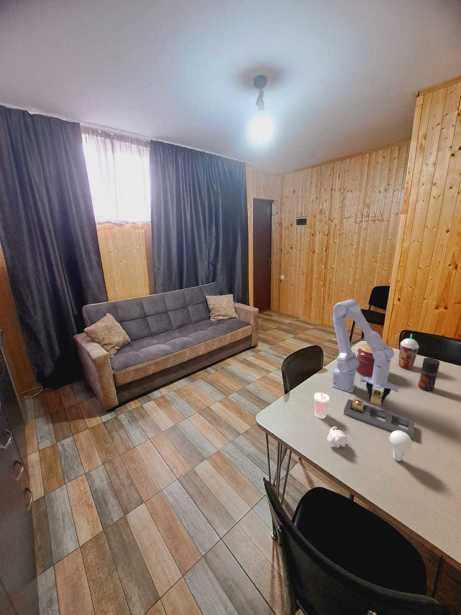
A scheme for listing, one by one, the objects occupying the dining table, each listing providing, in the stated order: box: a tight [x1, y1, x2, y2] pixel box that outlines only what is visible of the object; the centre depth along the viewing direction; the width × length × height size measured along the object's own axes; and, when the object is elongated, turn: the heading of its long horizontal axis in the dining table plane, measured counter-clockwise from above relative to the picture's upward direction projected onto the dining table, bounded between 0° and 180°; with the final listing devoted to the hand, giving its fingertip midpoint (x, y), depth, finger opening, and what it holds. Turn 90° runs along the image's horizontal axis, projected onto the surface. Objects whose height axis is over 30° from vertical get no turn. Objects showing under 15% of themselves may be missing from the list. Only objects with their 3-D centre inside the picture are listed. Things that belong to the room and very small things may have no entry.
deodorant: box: [417, 357, 440, 393], centre depth 118 cm, size 6×6×15 cm
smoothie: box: [398, 333, 420, 370], centre depth 136 cm, size 8×8×20 cm
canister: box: [356, 342, 375, 378], centre depth 133 cm, size 13×13×18 cm
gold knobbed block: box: [351, 398, 366, 414], centre depth 105 cm, size 4×4×6 cm
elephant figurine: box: [326, 425, 350, 449], centre depth 89 cm, size 7×8×6 cm
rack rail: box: [343, 398, 415, 441], centre depth 101 cm, size 24×8×2 cm, turn 53°
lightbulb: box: [389, 430, 413, 462], centre depth 82 cm, size 6×6×11 cm
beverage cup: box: [313, 385, 330, 419], centre depth 103 cm, size 6×6×14 cm
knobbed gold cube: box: [370, 388, 383, 407], centre depth 111 cm, size 4×4×6 cm
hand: (376, 399), depth 111 cm, fingers closed on knobbed gold cube, 4 cm apart
